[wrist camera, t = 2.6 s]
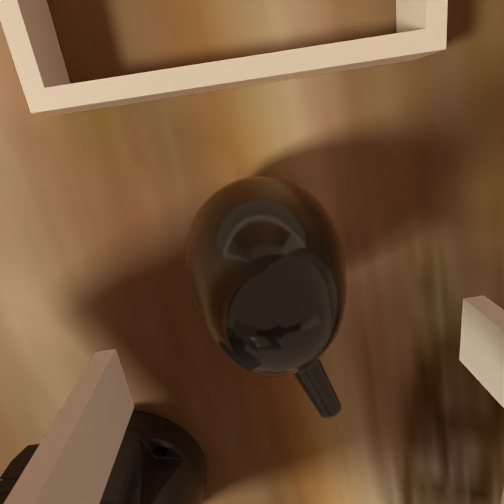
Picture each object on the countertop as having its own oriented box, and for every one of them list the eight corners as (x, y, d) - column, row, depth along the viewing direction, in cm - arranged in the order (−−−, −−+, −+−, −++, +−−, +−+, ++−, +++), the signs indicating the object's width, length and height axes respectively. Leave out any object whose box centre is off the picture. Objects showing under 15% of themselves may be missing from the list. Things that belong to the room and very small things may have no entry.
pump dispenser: (237, 316, 31) (241, 483, 17) (166, 213, 28) (94, 312, 13) (345, 257, 30) (449, 384, 15) (283, 142, 26) (341, 167, 12)
